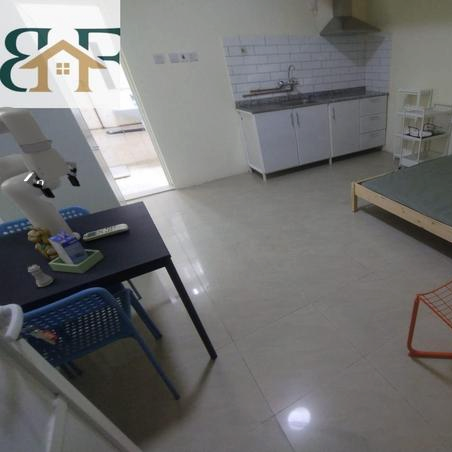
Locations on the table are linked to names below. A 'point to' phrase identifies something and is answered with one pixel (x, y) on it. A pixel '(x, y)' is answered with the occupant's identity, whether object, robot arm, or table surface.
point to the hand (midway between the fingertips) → (64, 191)
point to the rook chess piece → (40, 276)
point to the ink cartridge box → (68, 248)
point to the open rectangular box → (80, 268)
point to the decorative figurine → (42, 242)
